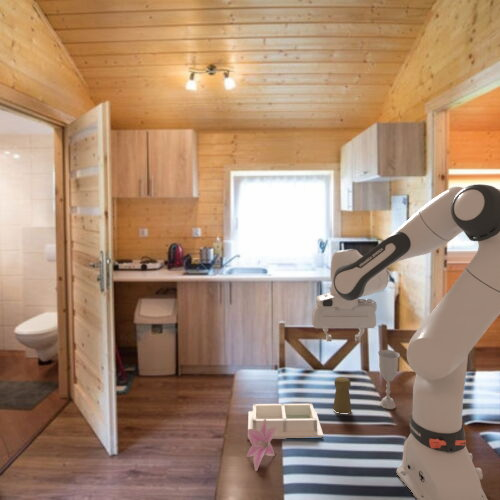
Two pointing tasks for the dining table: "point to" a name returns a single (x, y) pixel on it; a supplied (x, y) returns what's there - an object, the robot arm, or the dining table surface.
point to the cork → (342, 395)
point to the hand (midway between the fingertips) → (343, 340)
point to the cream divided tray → (286, 420)
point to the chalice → (388, 373)
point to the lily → (261, 443)
